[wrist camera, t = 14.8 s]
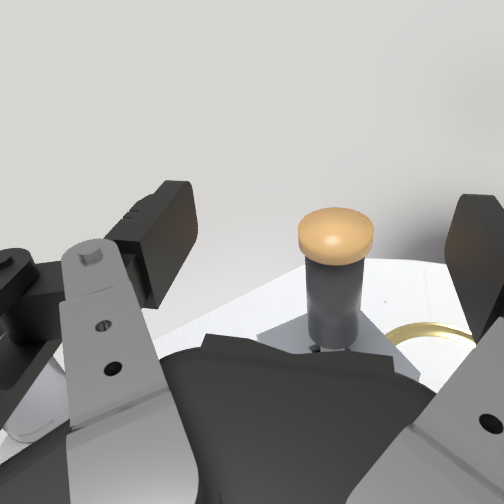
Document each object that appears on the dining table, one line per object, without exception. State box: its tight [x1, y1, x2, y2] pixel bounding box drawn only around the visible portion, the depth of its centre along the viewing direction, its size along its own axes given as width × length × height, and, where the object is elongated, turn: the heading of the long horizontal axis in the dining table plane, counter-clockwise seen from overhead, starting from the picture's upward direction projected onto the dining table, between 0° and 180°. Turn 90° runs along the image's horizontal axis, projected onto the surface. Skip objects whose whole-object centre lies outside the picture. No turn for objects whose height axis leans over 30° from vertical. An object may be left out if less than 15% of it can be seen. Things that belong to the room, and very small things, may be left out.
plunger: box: [298, 208, 374, 352], centre depth 33 cm, size 5×5×27 cm
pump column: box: [257, 310, 421, 382], centre depth 38 cm, size 14×14×18 cm
